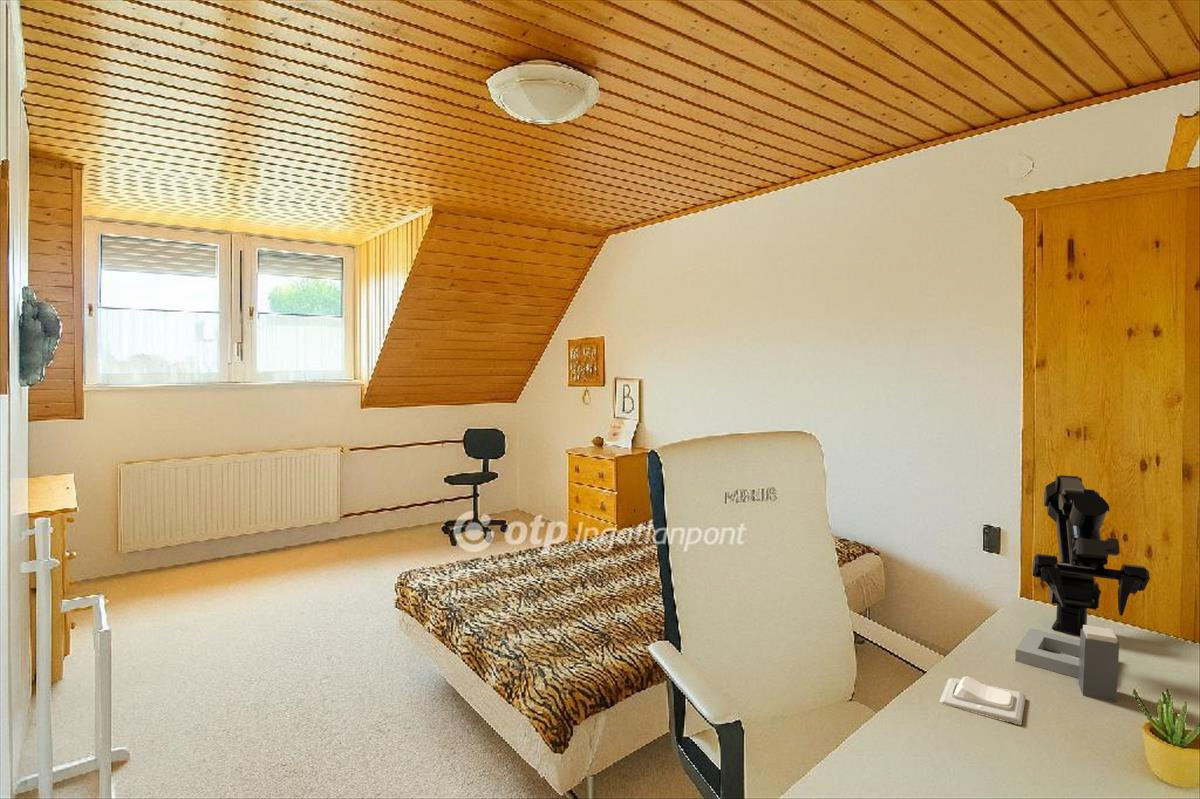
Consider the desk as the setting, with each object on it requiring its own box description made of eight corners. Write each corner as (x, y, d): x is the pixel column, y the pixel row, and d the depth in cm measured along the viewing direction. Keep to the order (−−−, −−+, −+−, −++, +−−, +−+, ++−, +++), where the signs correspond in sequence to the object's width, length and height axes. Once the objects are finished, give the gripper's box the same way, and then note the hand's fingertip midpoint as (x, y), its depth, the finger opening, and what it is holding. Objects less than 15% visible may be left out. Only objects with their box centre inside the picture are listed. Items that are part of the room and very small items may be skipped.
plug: (1078, 683, 124) (1080, 623, 123) (1110, 689, 122) (1113, 628, 121) (1082, 695, 120) (1085, 633, 119) (1116, 702, 117) (1119, 639, 116)
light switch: (947, 664, 126) (1024, 680, 119) (948, 685, 126) (1025, 702, 119) (938, 687, 118) (1020, 706, 110) (938, 709, 118) (1021, 729, 110)
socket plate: (1029, 638, 143) (1029, 626, 143) (1108, 658, 134) (1109, 646, 133) (1015, 660, 133) (1015, 647, 133) (1099, 684, 124) (1100, 670, 123)
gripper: (1035, 516, 134) (1039, 584, 126) (1149, 527, 125) (1162, 600, 116) (1030, 543, 142) (1034, 608, 133) (1137, 555, 133) (1149, 626, 124)
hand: (1092, 610), depth 126 cm, fingers open, 9 cm apart
